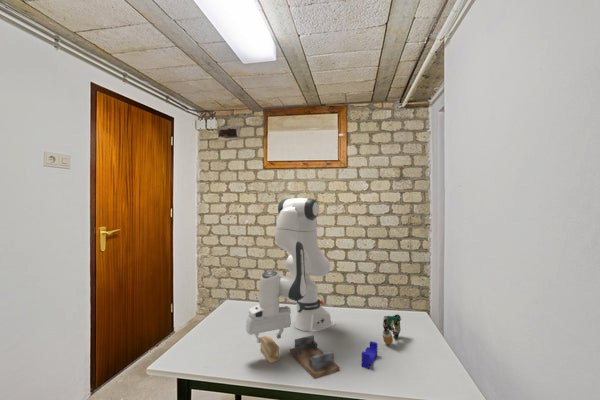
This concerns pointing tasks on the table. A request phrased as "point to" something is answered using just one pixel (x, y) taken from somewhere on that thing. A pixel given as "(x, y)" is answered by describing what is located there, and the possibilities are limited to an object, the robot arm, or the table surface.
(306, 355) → the wooden clamp fixture
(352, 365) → the table surface
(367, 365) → the cable clip
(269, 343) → the top rail
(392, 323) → the spray gun
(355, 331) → the table surface
